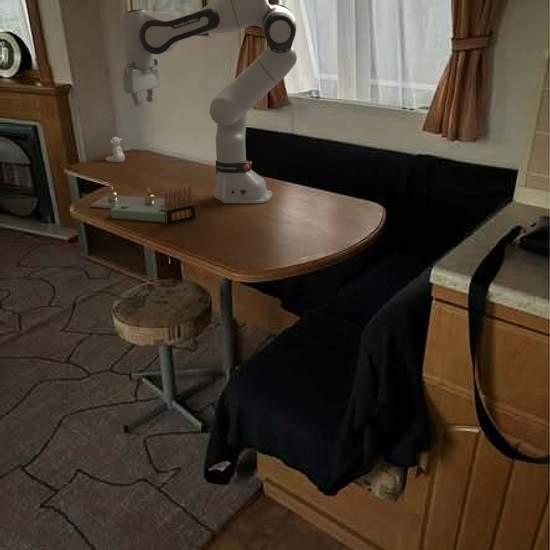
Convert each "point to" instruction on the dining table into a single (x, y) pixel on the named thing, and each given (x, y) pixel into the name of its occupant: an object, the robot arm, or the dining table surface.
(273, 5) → the robot arm
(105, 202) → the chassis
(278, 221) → the dining table surface
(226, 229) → the dining table surface
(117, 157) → the sitting furry creature
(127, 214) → the board
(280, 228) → the dining table surface
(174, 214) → the ammunition clip
